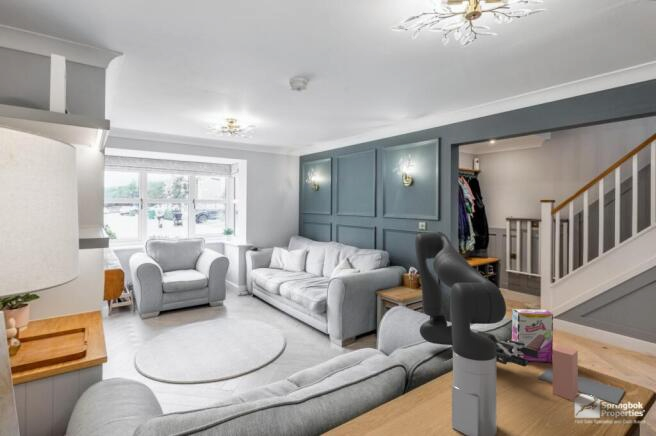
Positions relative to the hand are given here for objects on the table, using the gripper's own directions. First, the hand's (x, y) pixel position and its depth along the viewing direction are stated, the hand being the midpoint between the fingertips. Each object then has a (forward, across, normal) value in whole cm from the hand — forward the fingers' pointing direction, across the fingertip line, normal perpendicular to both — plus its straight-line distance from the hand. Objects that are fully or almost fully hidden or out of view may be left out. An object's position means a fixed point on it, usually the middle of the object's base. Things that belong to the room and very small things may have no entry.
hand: (532, 358), depth 95 cm
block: (+8, 0, +7) cm, 11 cm away
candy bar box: (-6, +17, +7) cm, 19 cm away
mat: (+9, +9, +7) cm, 15 cm away
